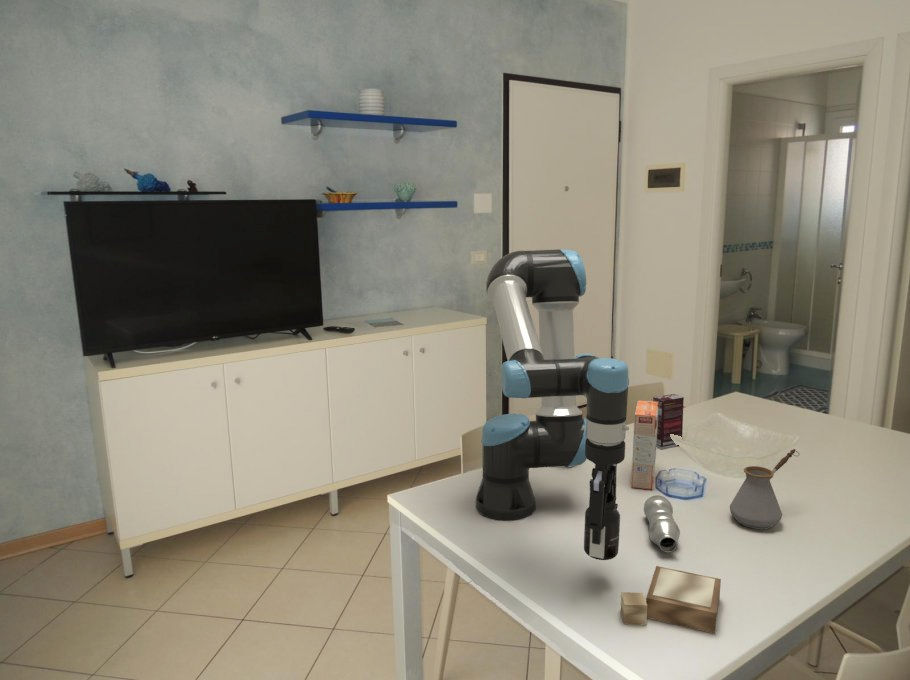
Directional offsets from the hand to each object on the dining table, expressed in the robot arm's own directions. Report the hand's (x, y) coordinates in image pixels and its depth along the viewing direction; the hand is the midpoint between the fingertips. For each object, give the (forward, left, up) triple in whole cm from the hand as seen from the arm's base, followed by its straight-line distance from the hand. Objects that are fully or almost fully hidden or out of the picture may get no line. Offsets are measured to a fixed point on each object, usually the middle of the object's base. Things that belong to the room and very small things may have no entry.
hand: (601, 546), depth 133 cm
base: (+16, -3, -8) cm, 18 cm away
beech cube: (+8, -10, -8) cm, 15 cm away
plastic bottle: (+6, +34, -5) cm, 35 cm away
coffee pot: (+30, +44, -8) cm, 54 cm away
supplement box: (+1, +85, -8) cm, 86 cm away
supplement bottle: (0, 0, -1) cm, 1 cm away
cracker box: (-1, +55, -8) cm, 56 cm away
